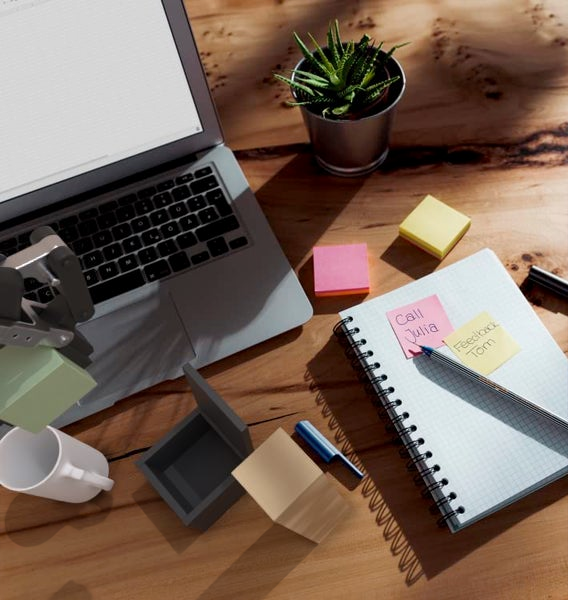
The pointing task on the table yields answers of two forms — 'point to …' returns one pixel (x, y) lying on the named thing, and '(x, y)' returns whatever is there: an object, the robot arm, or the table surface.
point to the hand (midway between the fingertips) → (45, 383)
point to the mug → (52, 465)
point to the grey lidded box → (194, 470)
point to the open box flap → (219, 411)
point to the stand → (291, 488)
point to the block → (38, 386)
